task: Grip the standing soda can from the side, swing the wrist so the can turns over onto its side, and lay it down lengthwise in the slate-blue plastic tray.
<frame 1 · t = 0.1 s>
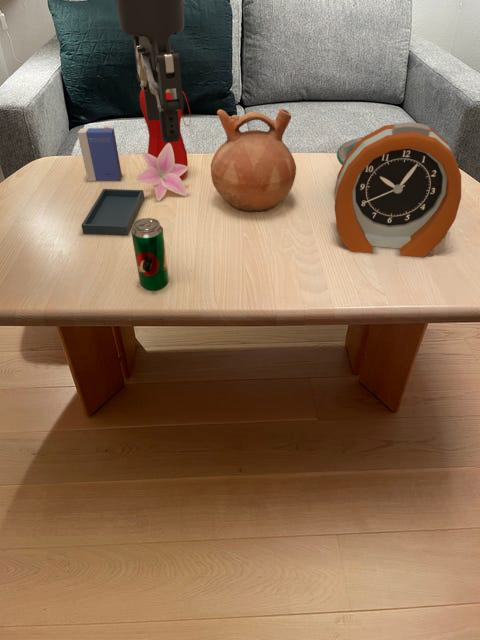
hand: (162, 129, 63), 28 cm above the table, tool pointing down, fingers open, 8 cm apart
walkman: (105, 179, 115), on the table
bowl: (385, 197, 109), on the table
alarm clock: (384, 241, 94), on the table
soda can: (154, 285, 83), on the table
water bottle: (172, 175, 117), on the table
lily: (164, 193, 109), on the table
jug: (252, 202, 106), on the table
tray: (115, 215, 101), on the table
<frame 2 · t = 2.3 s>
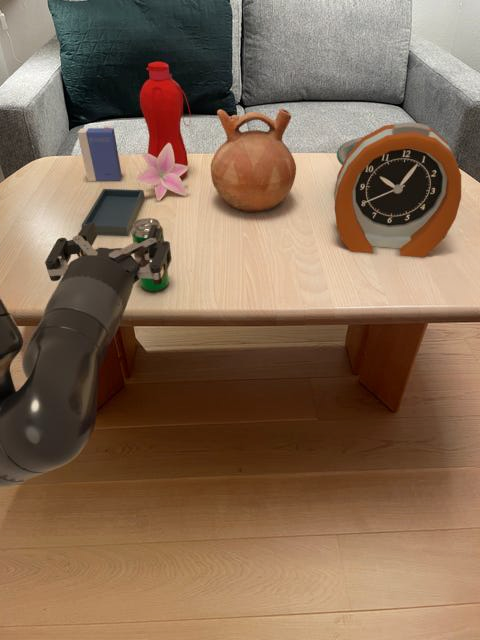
hand: (124, 229, 63), 18 cm above the table, tool horizontal, fingers open, 8 cm apart
nothing on the table moved.
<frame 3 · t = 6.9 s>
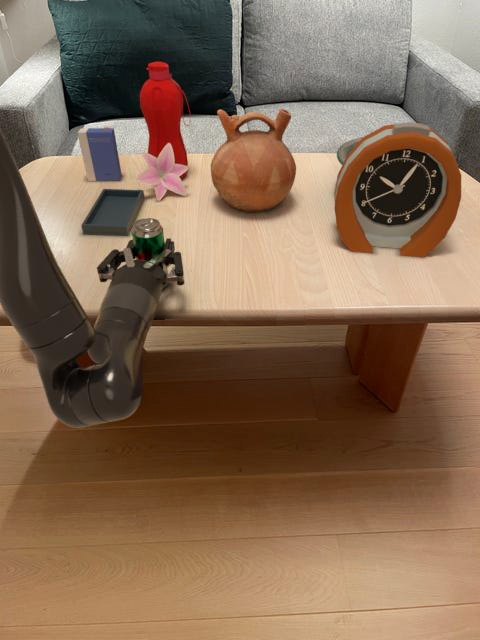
hand: (152, 242, 80), 7 cm above the table, tool horizontal, fingers closed on soda can, 5 cm apart
soda can: (154, 285, 83), on the table, touching gripper
everything else where it was.
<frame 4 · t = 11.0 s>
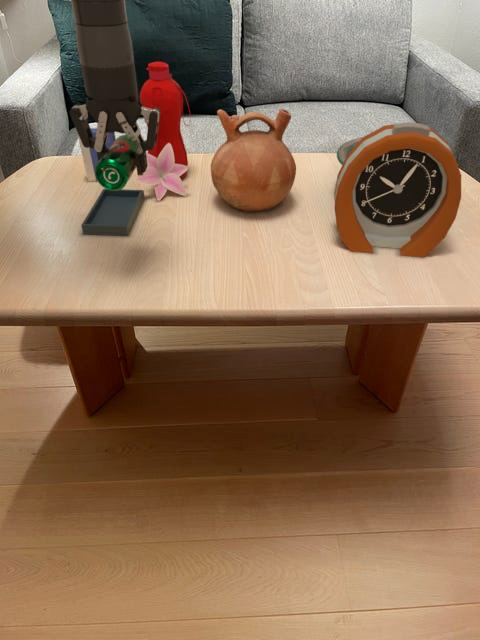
hand: (124, 172, 78), 17 cm above the table, tool pointing down, fingers closed on soda can, 5 cm apart
soda can: (109, 177, 71), point 19 cm above the table, touching gripper
everything else where it was.
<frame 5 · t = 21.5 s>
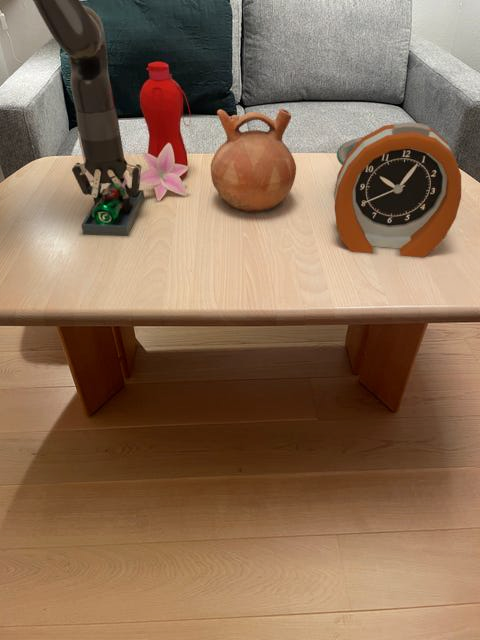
hand: (115, 211, 101), 1 cm above the table, tool pointing down, fingers closed on soda can, 5 cm apart
soda can: (103, 218, 94), point 3 cm above the table, touching gripper
everything else where it was.
when the fingers open (2 cm above the table, at t = 25.4 s): soda can drops 1 cm, resting on tray.
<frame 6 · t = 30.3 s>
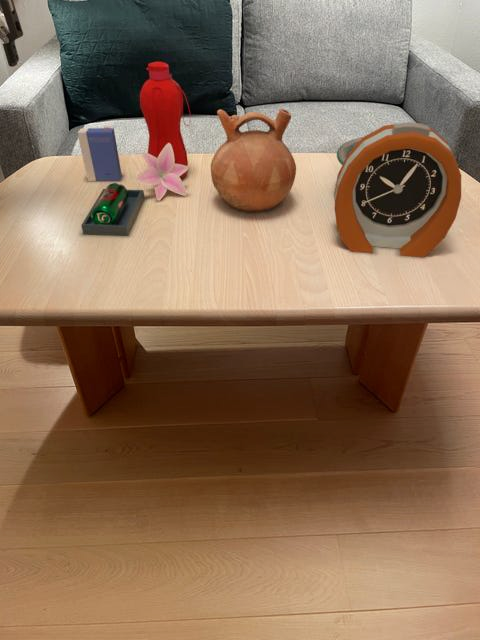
soda can: (102, 219, 93), point 3 cm above the table, touching tray
everything else where it was.
at the end: soda can tilted 90°; soda can inside the target area on the tray (6.2 cm from its centre), point 3.1 cm above the tray's base; the gripper is holding nothing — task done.
